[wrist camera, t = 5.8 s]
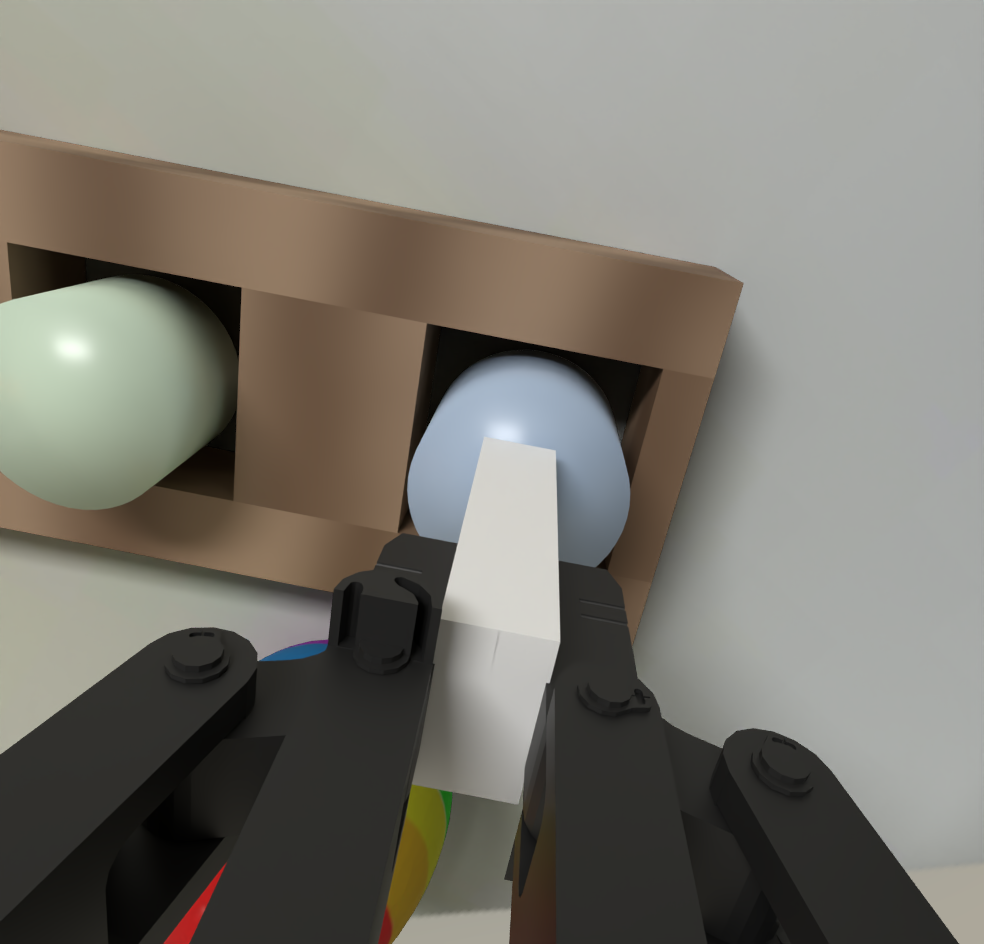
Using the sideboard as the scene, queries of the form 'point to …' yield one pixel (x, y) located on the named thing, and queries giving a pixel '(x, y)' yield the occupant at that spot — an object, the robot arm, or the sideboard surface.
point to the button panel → (349, 353)
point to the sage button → (110, 388)
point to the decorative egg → (414, 853)
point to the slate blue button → (531, 421)
